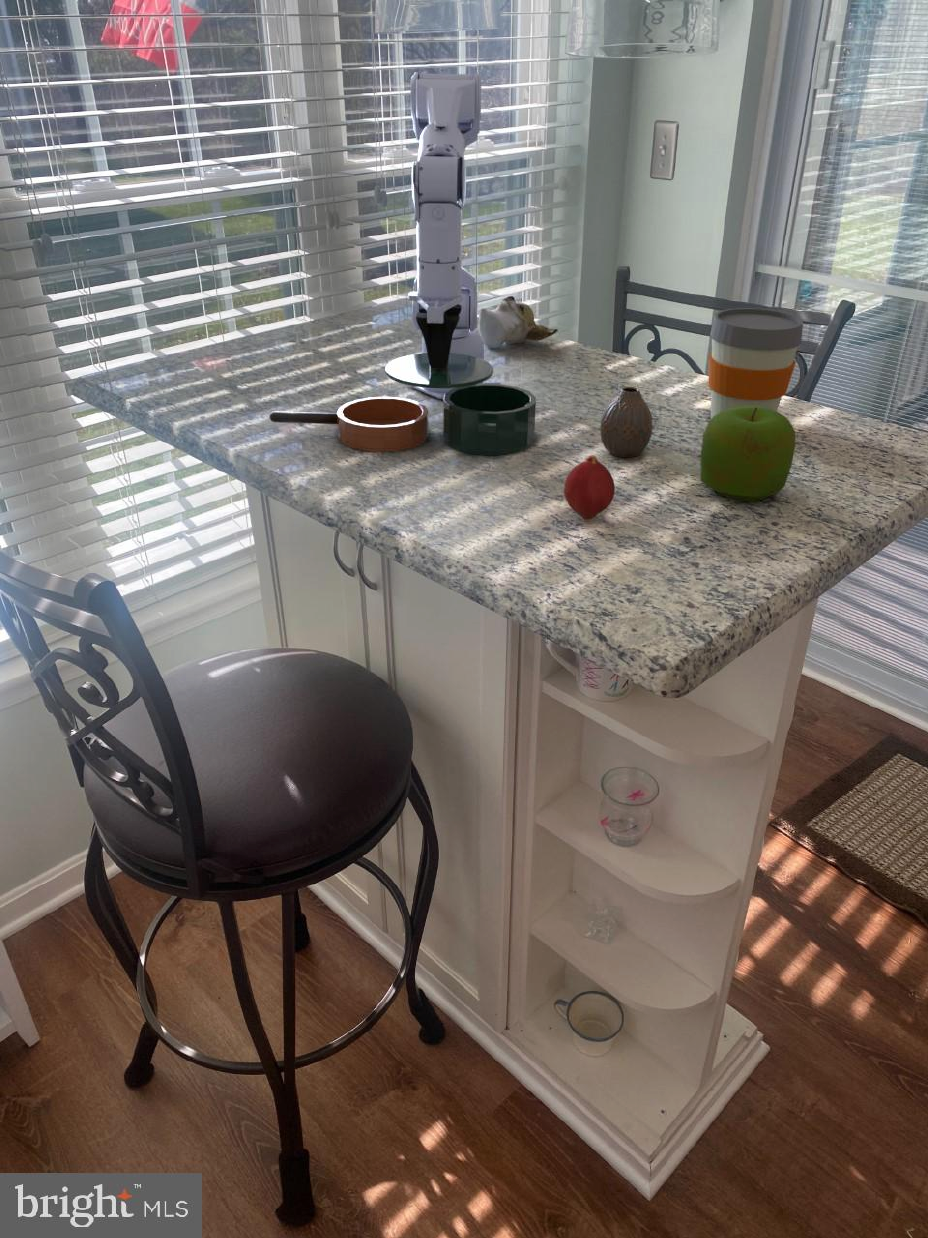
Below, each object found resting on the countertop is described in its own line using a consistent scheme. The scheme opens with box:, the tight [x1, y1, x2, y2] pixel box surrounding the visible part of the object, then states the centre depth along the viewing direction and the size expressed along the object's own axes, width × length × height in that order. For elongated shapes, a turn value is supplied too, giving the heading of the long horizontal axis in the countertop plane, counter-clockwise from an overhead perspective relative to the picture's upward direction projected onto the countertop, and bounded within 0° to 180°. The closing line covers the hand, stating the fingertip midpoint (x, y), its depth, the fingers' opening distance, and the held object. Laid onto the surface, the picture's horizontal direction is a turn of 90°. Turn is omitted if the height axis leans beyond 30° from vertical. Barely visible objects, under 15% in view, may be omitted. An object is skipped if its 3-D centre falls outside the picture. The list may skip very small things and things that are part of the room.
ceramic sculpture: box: [477, 295, 559, 349], centre depth 178 cm, size 11×9×15 cm
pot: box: [442, 382, 537, 456], centre depth 137 cm, size 13×18×6 cm
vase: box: [600, 386, 654, 458], centre depth 132 cm, size 7×7×9 cm
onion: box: [563, 454, 616, 520], centre depth 114 cm, size 6×6×8 cm
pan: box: [336, 396, 430, 453], centre depth 138 cm, size 13×13×4 cm
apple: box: [700, 406, 796, 502], centre depth 121 cm, size 11×11×11 cm
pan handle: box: [269, 410, 337, 425], centre depth 138 cm, size 10×2×2 cm, turn 86°
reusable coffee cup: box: [708, 307, 804, 420], centre depth 142 cm, size 12×13×15 cm
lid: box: [384, 352, 494, 388], centre depth 133 cm, size 15×15×5 cm
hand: (439, 364), depth 133 cm, fingers closed on lid, 2 cm apart
